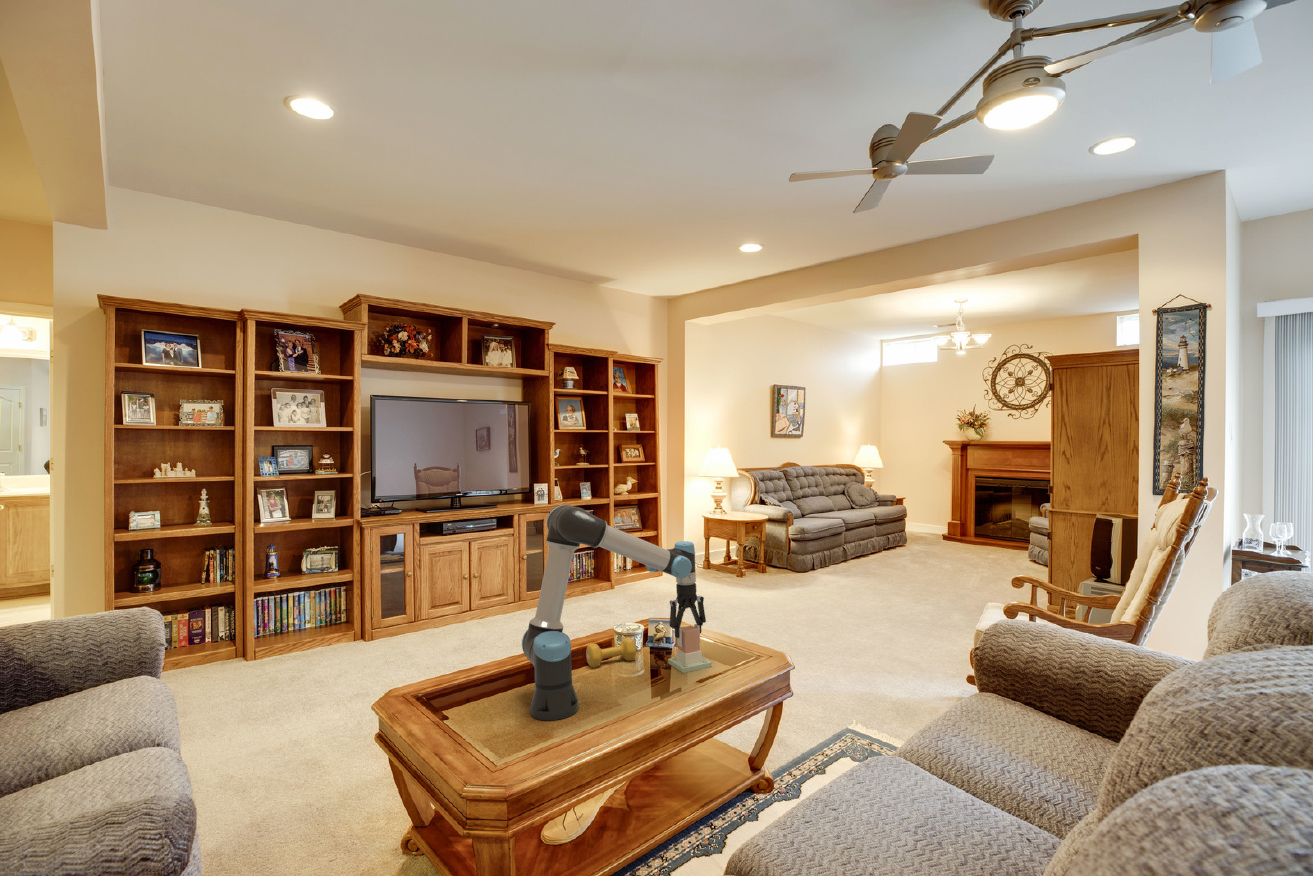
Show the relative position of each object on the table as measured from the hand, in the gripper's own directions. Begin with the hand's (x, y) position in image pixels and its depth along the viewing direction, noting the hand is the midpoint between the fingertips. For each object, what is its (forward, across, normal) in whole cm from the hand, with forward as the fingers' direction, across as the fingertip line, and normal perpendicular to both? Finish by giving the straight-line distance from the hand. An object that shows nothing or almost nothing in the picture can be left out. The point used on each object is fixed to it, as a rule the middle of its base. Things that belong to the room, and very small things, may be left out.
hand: (688, 644), depth 228 cm
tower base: (+8, 0, 0) cm, 8 cm away
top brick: (+2, 0, 0) cm, 2 cm away
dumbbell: (+8, -24, +19) cm, 32 cm away
